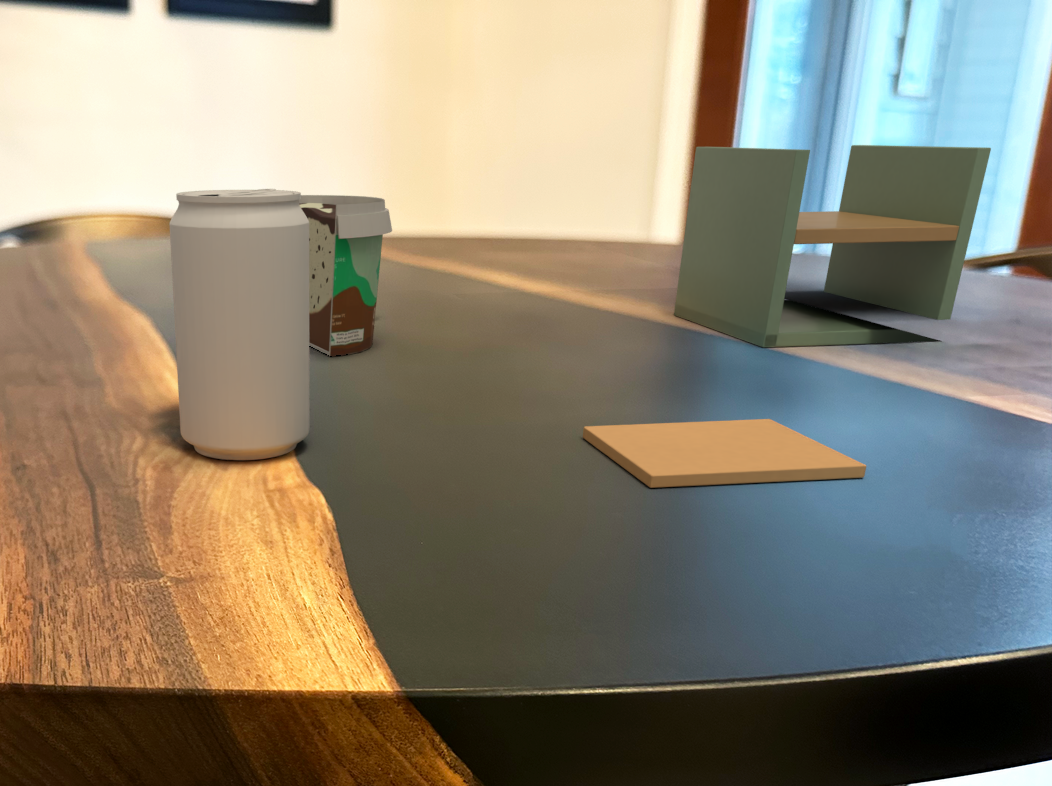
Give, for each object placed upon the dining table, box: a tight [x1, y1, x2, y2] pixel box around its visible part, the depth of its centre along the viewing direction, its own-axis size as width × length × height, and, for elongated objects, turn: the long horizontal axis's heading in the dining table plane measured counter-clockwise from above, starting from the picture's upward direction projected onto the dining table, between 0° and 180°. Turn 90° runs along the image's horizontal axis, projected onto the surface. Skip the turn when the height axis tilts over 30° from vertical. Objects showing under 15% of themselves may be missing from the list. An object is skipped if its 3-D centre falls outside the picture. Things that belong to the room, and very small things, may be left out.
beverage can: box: [168, 188, 310, 461], centre depth 48 cm, size 6×6×12 cm
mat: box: [582, 418, 867, 489], centre depth 48 cm, size 10×8×1 cm
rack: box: [673, 144, 992, 348], centre depth 76 cm, size 14×14×13 cm
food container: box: [299, 194, 393, 357], centre depth 73 cm, size 12×6×10 cm, turn 22°
